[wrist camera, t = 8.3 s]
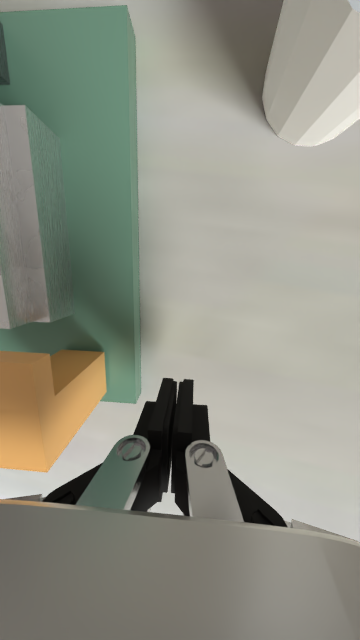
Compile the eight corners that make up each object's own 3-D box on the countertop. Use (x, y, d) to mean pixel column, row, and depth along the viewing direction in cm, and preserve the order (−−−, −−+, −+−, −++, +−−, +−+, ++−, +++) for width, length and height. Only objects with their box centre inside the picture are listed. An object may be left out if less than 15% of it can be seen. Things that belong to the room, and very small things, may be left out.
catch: (102, 323, 14) (31, 363, 8) (106, 391, 15) (47, 472, 9) (58, 321, 14) (-44, 359, 8) (65, 388, 15) (-19, 465, 9)
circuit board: (135, 37, 12) (126, 5, 10) (141, 392, 17) (135, 403, 16) (-154, 50, 13) (-198, 23, 12) (-68, 377, 18) (-91, 387, 17)
